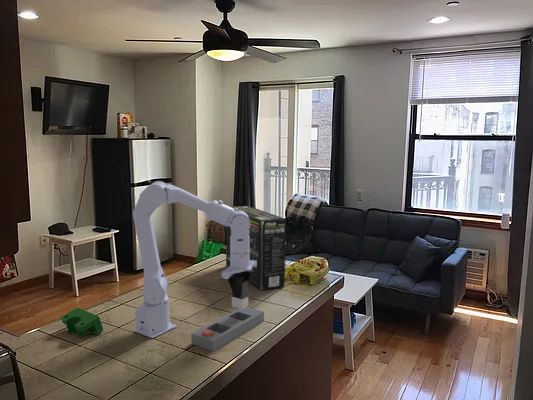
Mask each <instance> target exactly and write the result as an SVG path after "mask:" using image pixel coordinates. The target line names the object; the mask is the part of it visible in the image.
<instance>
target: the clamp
mask: <svg viewBox="0 0 533 400" xmlns="http://www.w3.org/2000/svg"><path fill="white" fill-rule="evenodd" d="M60 319H61V322H62V324H63V325H65V327H66V329H67V332H68V334H69V335H71V334H72V333H74V332H76V335H77V338H78V339H82V338H84V337H85V336H86V335H88V334H89V333H91V334H93V335H94V336H98V335H99V334H101V333H102V332H103V331H104V327H103V325H102V321H101V318H100V315H97V314H95V313H92V312H90V311H87V310H86V309H83V308H80V307H78V306H77V307H75V308H74V309H72V310H71V311H69V312H67V313H66V314H63V315H62V316H61V317H60Z"/></svg>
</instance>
